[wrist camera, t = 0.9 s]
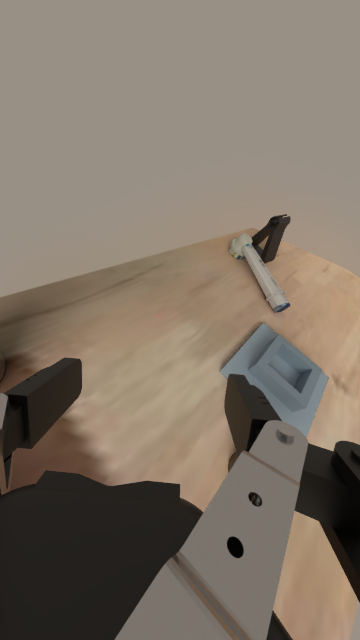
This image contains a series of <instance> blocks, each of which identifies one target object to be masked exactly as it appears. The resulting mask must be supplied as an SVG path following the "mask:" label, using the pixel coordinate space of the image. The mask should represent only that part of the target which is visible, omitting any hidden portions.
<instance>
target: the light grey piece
mask: <svg viewBox="0 0 360 640" xmlns="http://www.w3.org/2000/svg"><path fill="white" fill-rule="evenodd" d="M229 248H230V250H229V252H230V254H231V255H233V256H234V257H235V258H236V259H239V260H240V259H243V258H244V257H245V258H246V260H247V261H248V263H249V265H250V267H251V269H252V271H253V273H254V275H255V277H256V279H257V281H258V283H259V285H260V286H261V288H262V290H263V292H264V294H265V296H266V301H267V302H269V304H270V306H271V307H272V309H273V311H274V312H281V311H283V310H285V309H287V308H288V307H290V303H289V302H288V300H287V298H286V296H285V291H282V290H281V288H280V287H279V285H278V284H277V282H276V281H275V279H274V278H273V276H272V275H271V273H270V272H269V270H268V269H267V267H266V266H265V264H264V263H263V261H262V260H261V258H260V257H259V255H258V254H257V252H256V251H255V249H254V247H253V246H252V238H251V237H250V236H249V235H248V234H246V233H243V234H241V235H240V236H239V237H238V238H235V239H233V240H232V242H231V246H230V247H229Z"/></svg>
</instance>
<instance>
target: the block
mask: <svg viewBox="0 0 360 640" xmlns="http://www.w3.org/2000/svg"><path fill="white" fill-rule="evenodd" d="M220 372H221V373H222V374H223V375H224V376H225V377H226V378H227V379H228V376H229V374H240V375H245V377H246V379H247V380H248V382H249V384H250V385H255V386H256V387H257V388H259V389H260V390H261V391H262V392H263V393H264V395H265V396H266V399H268V401H269V402H270V405H272V407H273V408H274V410H275V411H276V413H277V414H278V416H279V417H280V419H281V420H282V421H283V422H286V423H288V424H290V425H292V426H294V427H296V428H297V429H298V430H300V431H301V432H302V433H303V434H304V435H305V437H307V434H308V432H309V429H310V426H311V424H312V421H313V419H314V416H315V413H316V411H317V408H318V405H319V403H320V400H321V397H322V395H323V392H324V390H325V387H326V384H327V382H328V379H329V377H328V376H327V375H325V374H324V373H323V372H322V369H321V368H319V367H318V366H317V365H316V364H315V363H313V362H312V361H311V360H310V359H309V358H307V357H306V356H305V355H304V354H303V353H301V352H300V351H299V350H298V349H297V348H295V347H294V346H293V345H292V344H291V343H289V342H288V341H287V340H286V339H285V338H283V337H282V336H281V335H280V334H277V333H275V332H274V331H273V330H272V329H271V328H269V327H268V326H267V325H266V324H265V323H263V324H261V325H260V326H259V328H258V329H257V330H256V331H255V332H254V333H253V334H252V335H251V337H250V338H249V339H248V340H247V341H246V342H245V343H244V344H243V345H242V347H241V348H240V349H239V350H238V351H237V352H236V353H235V354H234V356H233V357H232V358H231V359H230V360H229V361H228V362H227V363H226V365H225V366H224V367H223V368H222V369H221V370H220Z"/></svg>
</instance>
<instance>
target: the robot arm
mask: <svg viewBox="0 0 360 640" xmlns="http://www.w3.org/2000/svg"><path fill="white" fill-rule="evenodd" d="M5 364H6V362H5V359H4V356H3V354H2V353H1V352H0V381H1V379H2V377H3V375H4V372H5ZM81 389H82V363H81V360H80V359H75V358H63V359H61V360H60V361H58V362H57V363H55V364H54V365H52V366H50V367H47V368H45V369H42V370H40V371H39V372H37V373H35V374H34V375H33V376H31V377H29V378H27V379H26V380H24V381H23V382H21V383H19V384H18V385H16V386H15V387H13V388H11V389H10V390H8V391H7V392H5V393H4V394H2V393H0V640H293V639H292V638H291V636H290V635H289V633H288V632H287V630H286V629H285V628H284V626H283V625H282V623H281V622H280V620H279V619H278V617H277V616H276V614H275V613H274V611H273V606H274V602H275V597H276V592H277V588H278V583H279V579H280V574H281V569H282V565H283V560H284V556H285V551H286V547H287V542H288V537H289V533H290V528H291V524H292V519H293V514H294V510H295V511H297V512H299V513H301V514H304V515H306V516H308V517H311V518H313V519H315V520H318V521H319V522H320V524H321V526H322V528H323V530H324V532H325V534H326V536H327V538H328V540H329V542H330V544H331V546H332V548H333V550H334V552H335V554H336V556H337V558H338V560H339V562H340V564H341V566H342V568H343V570H344V572H345V574H346V576H347V578H348V580H349V582H350V584H351V586H352V588H353V590H354V592H355V594H356V596H357V598H358V600H359V602H360V445H358V444H355V443H352V442H348V441H339V442H337V443H336V444H335V448H334V451H330V450H327V449H324V448H321V447H318V446H315V445H312V444H309V443H308V440H307V438H306V437H305V435H304V434H303V433H302V432H301V431H300V430H298V429H297V428H296V427H294V426H292V425H290V424H288V423H286V422H283V421H282V420H281V419H280V417H279V416H278V414H277V413H276V411H275V410H274V408H273V407H272V405H270V402H269V401H268V399H266V396H265V395H264V393H263V392H262V391H261V390H260V389H259V388H257V387H256V386H255V385H250V384H249V382H248V380H247V379H246V377H245V375H240V374H229V376H228V382H227V389H226V395H225V414H226V417H227V420H228V424H229V427H230V431H231V434H232V438H233V441H234V444H235V448H236V451H237V455H238V459H237V460H236V462H235V464H234V465H233V467H232V468H231V470H230V472H229V473H228V475H227V476H226V478H225V479H224V481H223V483H222V484H221V486H220V487H219V489H218V491H217V492H216V494H215V495H214V497H213V499H212V500H211V502H210V503H209V505H208V507H207V508H206V510H205V511H204V513H203V512H202V511H201V510H200V509H199V508H197V507H196V506H195V505H193V504H192V503H190V502H188V501H186V500H184V499H182V498H180V484H173V483H163V482H153V481H143V482H136V483H130V484H123V485H117V486H106V485H104V484H101V483H99V482H97V481H94V480H92V479H90V478H87V477H85V476H82V475H80V474H75V473H65V472H56V471H45V472H44V474H43V475H42V476H41V478H40V479H39V480H38V482H37V483H36V484H32V485H28V486H24V487H21V488H18V489H15V490H12V491H10V490H11V481H12V471H13V461H14V456H13V452H14V451H15V450H16V449H17V448H27V449H32V448H33V446H34V445H35V444H36V443H37V442H38V441H39V440H40V439H41V438H42V437H43V435H44V434H45V433H46V432H47V431H48V430H49V429H50V428H51V427H52V426H53V425H54V423H55V422H56V421H57V420H58V419H59V418H60V417H61V416H62V415H63V414H64V412H65V411H66V410H67V409H68V408H69V407H70V406H71V405H72V404H73V403H74V401H75V400H76V399H77V398H78V397H79V395H80V393H81Z"/></svg>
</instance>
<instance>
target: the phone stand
mask: <svg viewBox="0 0 360 640" xmlns="http://www.w3.org/2000/svg"><path fill="white" fill-rule="evenodd" d="M283 216H287V214H286V215H279V216H274V217H272V218H271V219H270V220H269V222H268V224H267V225H266V226H265V227H264V228H263V229H262V230H260V231H259V232H258V233H257V234H256V235H254V236H253V237H252V246H253V247H254V249H255V251H256V252H257V254H258V255H259V257H260V258H261V260H262V261H263V263H267V262H269V261H272V260H274V259H275V256H276V253H277V250H278V247H279V244H280V241H281V238H282V235H283V233H284V230H285V228H286V226H287V225H288V224H289V223H290V217H284V218H282V217H283ZM268 235H269V237H268V240H267V242H266V245H265V247H264V250H263V249H261V248H260V247H259V246H258V245H259V244H260V243H261V242H262V241H263V240H264V239H265V238H266V237H267V236H268Z"/></svg>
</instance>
